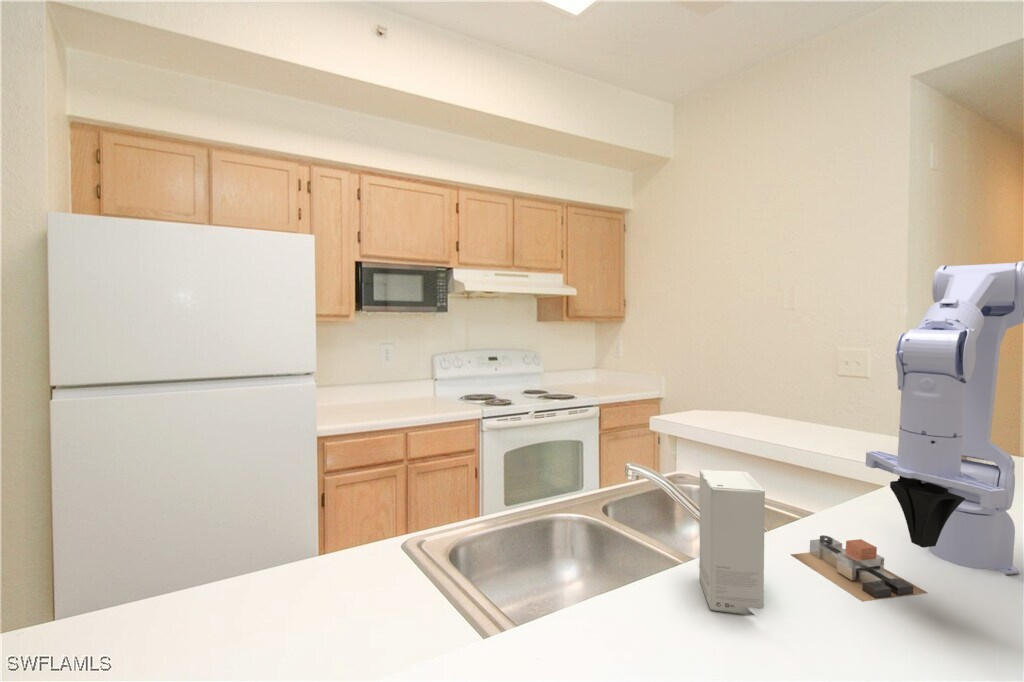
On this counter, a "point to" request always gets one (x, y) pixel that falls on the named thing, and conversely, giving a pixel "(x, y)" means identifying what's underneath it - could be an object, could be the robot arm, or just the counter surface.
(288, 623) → the counter surface
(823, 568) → the walnut board
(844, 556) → the collar
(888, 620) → the counter surface
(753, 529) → the skincare box
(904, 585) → the sliding bar clamp
